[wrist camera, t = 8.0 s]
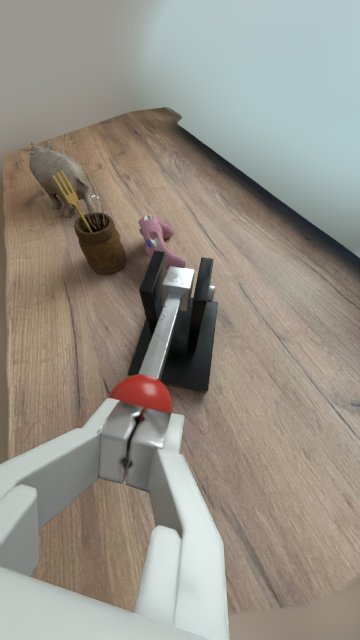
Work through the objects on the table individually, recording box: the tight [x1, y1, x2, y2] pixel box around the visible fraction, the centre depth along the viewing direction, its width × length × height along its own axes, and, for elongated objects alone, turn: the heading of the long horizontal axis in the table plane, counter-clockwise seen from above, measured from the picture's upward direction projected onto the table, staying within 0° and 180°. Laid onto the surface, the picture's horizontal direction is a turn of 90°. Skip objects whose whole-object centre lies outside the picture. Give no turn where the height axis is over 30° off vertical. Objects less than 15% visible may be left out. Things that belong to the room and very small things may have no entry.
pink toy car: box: [139, 214, 185, 269], centre depth 30 cm, size 10×5×7 cm
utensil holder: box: [52, 171, 126, 274], centre depth 26 cm, size 6×6×12 cm
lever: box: [108, 266, 195, 414], centre depth 13 cm, size 13×3×3 cm, turn 169°
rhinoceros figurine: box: [30, 142, 96, 217], centre depth 36 cm, size 8×14×15 cm
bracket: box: [128, 250, 218, 393], centre depth 20 cm, size 12×9×12 cm
